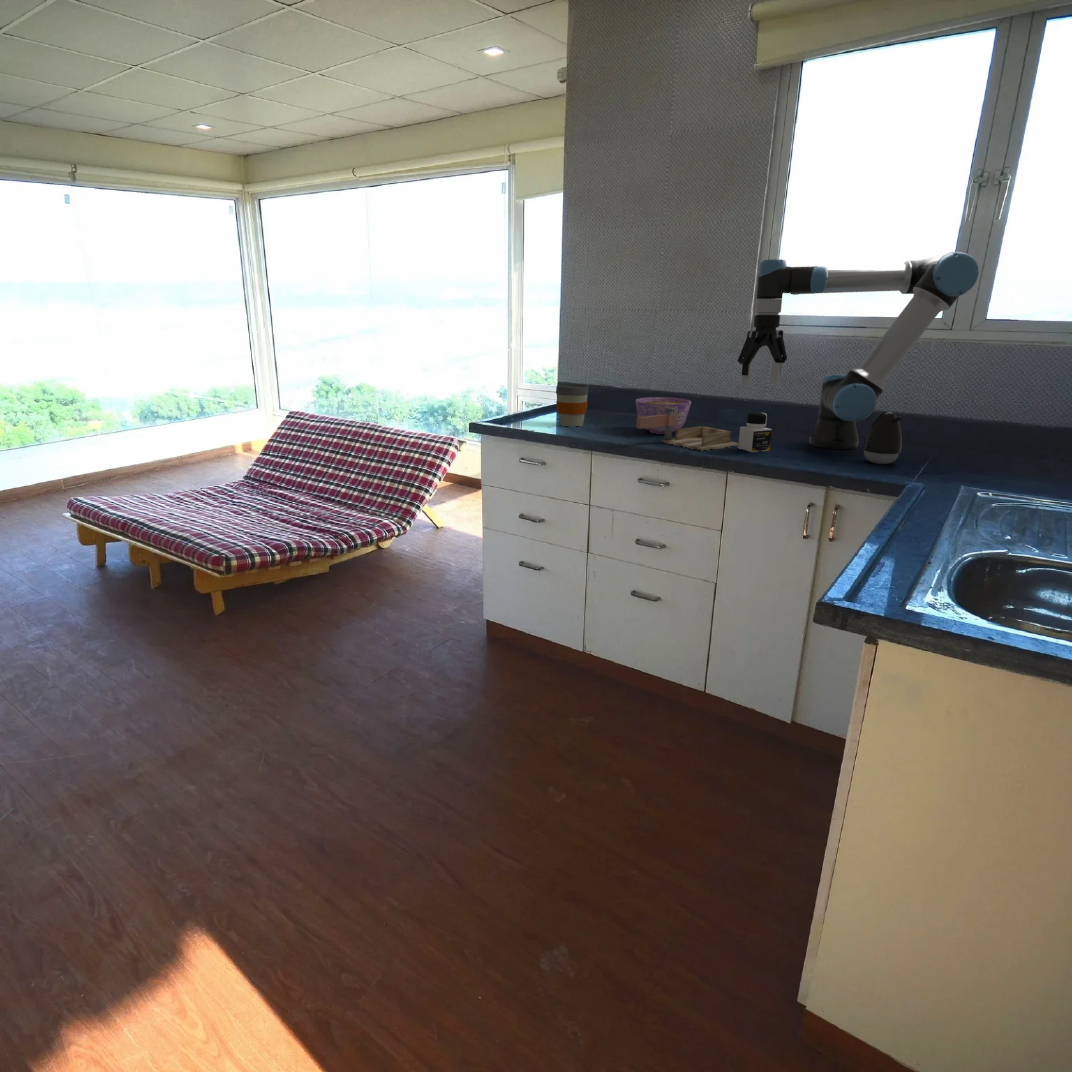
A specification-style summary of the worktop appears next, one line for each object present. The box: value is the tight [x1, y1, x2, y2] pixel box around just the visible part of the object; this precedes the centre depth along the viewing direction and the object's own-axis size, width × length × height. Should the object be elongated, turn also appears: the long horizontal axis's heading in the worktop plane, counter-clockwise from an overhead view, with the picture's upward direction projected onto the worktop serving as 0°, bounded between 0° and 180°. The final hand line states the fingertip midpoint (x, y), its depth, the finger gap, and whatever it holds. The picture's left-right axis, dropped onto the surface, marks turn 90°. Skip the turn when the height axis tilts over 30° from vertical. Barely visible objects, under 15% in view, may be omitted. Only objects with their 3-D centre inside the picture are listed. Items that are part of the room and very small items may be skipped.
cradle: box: [662, 425, 739, 452], centre depth 231 cm, size 18×17×4 cm
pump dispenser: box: [862, 410, 903, 465], centre depth 204 cm, size 10×10×15 cm
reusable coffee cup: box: [555, 383, 590, 427], centre depth 265 cm, size 13×13×15 cm
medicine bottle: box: [737, 411, 773, 453], centre depth 221 cm, size 7×7×12 cm
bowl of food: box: [635, 396, 692, 435], centre depth 252 cm, size 20×20×12 cm
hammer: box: [636, 408, 676, 440], centre depth 229 cm, size 15×3×10 cm, turn 123°
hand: (760, 385), depth 217 cm, fingers open, 13 cm apart
